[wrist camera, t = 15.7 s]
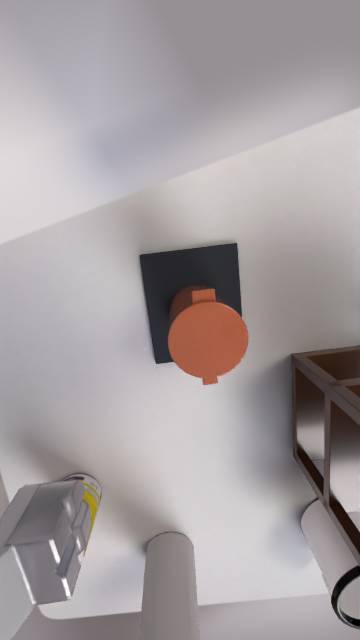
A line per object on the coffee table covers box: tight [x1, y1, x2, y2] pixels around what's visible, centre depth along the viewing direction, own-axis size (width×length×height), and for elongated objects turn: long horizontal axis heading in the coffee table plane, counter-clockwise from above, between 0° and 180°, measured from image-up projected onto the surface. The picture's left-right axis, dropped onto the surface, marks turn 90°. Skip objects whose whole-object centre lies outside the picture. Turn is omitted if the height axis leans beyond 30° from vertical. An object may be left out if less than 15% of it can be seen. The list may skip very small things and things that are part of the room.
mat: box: [140, 243, 242, 364], centre depth 29 cm, size 12×10×1 cm
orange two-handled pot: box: [168, 285, 248, 385], centre depth 24 cm, size 8×6×10 cm
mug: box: [301, 499, 360, 629], centre depth 33 cm, size 12×10×9 cm
